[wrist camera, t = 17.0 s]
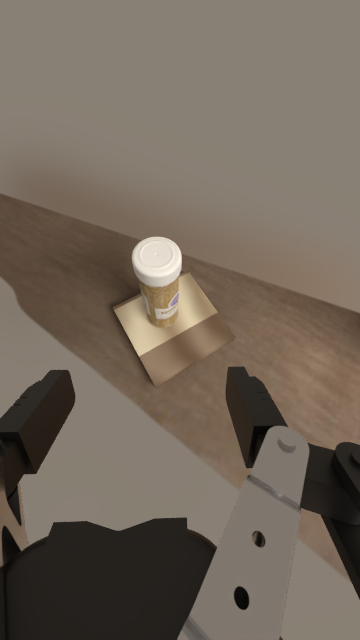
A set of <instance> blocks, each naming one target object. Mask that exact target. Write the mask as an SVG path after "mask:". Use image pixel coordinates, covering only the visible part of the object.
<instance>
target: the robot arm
mask: <svg viewBox="0 0 360 640" xmlns="http://www.w3.org/2000/svg"><path fill="white" fill-rule="evenodd" d="M226 402H227V406H228V409H229V412H230V416H231V419H232V422H233V426H234V429H235V432H236V436H237V439H238V442H239V446H240V449H241V452H242V456H243V459H244V462H245V466H246V468H253V469H252V471H251V473H250V475H249V476H247V478H246V480H245V482H244V484H243V487H242V489H241V491H240V494H239V496H238V499H237V501H236V504H235V506H234V509H233V511H232V513H231V516H230V518H229V520H228V523H227V526H226V528H225V530H224V533H223V535H222V537H221V540H220V542H219V545H218V547H216V546H215V545H214V544H213V543H212V542H211V541H210V540H208V539H207V538H205V537H204V536H203V535H201V534H199V533H197V532H195V531H192V530H189V529H187V518H161V519H152V520H150V521H147V522H144V523H141V524H138V525H136V526H133V527H130V528H127V529H124V530H121V531H115V530H112V529H109V528H106V527H103V526H100V525H97V524H93V523H90V522H87V521H81V522H54V523H53V525H52V528H51V531H50V533H49V535H48V536H47V537H45V538H43V539H40V540H38V541H36V542H35V543H33V544H31V545H30V544H29V541H28V537H27V533H26V527H25V519H24V511H23V503H22V493H21V487H20V483H19V481H20V479H21V478H22V476H23V475H24V474H36V473H37V471H38V469H39V467H40V466H41V464H42V462H43V460H44V459H45V457H46V455H47V453H48V451H49V449H50V448H51V446H52V444H53V442H54V440H55V439H56V437H57V435H58V433H59V431H60V430H61V428H62V426H63V424H64V422H65V421H66V419H67V417H68V415H69V413H70V412H71V410H72V408H73V406H74V403H75V392H74V388H73V384H72V380H71V376H70V373H69V371H68V370H51V371H49V372H48V373H47V375H46V376H45V377H44V378H43V379H42V380H41V381H38V382H36V383H35V384H33V385H32V386H30V387H29V388H28V389H27V390H26V391H25V392H24V393H23V394H22V395H21V396H20V399H18V400H17V401H16V402H15V403H14V404H13V406H11V407H10V409H9V410H8V411H7V412H6V413H5V414H4V415H3V416H2V417H1V418H0V640H283V639H282V638H281V636H280V633H281V627H282V621H283V615H284V609H285V603H286V597H287V591H288V585H289V580H290V574H291V568H292V562H293V557H294V551H295V545H296V539H297V533H298V528H299V522H300V515H301V508H303V509H306V510H309V511H312V512H315V513H318V514H321V517H322V519H323V521H324V523H325V525H326V527H327V530H328V532H329V534H330V536H331V538H332V540H333V543H334V545H335V547H336V549H337V551H338V554H339V556H340V558H341V560H342V562H343V564H344V567H345V569H346V571H347V573H348V575H349V577H350V580H351V582H352V584H353V586H354V588H355V590H356V593H357V595H358V597H359V599H360V445H358V444H355V443H351V442H343V443H340V444H338V445H337V447H336V449H335V450H331V449H327V448H323V447H319V446H315V445H312V444H309V443H307V442H306V440H305V439H304V438H303V437H302V436H301V435H300V434H299V433H298V432H296V431H295V430H293V429H291V428H289V427H288V426H287V424H286V422H285V420H284V419H283V417H282V415H281V413H280V412H279V410H278V408H277V406H276V405H275V403H274V401H273V400H272V398H271V396H270V394H269V393H268V391H267V389H266V387H265V385H264V384H263V383H262V382H261V381H260V380H259V379H258V378H256V377H249V375H248V373H247V371H246V369H245V367H228V372H227V382H226Z"/></svg>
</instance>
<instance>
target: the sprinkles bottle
mask: <svg viewBox="0 0 360 640" xmlns="http://www.w3.org/2000/svg"><path fill="white" fill-rule="evenodd" d="M132 263H133V268H134V272H135V274H136V276H137V278H138V279H139V284H140V290H141V293H142V297H143V301H144V304H145V308H146V311H147V316H148V319H149V321H150V323H151V324H153V325H154V326H155V327H158V328H166V327H169V326H171V325H172V324H174V323H175V322H176V320H177V318H178V302H179V274H180V271H181V264H182V256H181V251H180V249H179V247H178V246H177V245H176V244H175V243H174V242H173V241H171V240H170V239H167V238H164V237H150V238H147V239H144V240H142V241H141V242H139V243H138V244H137V245H136V247H135V248H134V250H133V253H132Z"/></svg>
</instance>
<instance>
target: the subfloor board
mask: <svg viewBox="0 0 360 640" xmlns="http://www.w3.org/2000/svg"><path fill="white" fill-rule="evenodd" d="M113 309H114V311H115V313H116V315H117V317H118V318H119V320H120V322H121V324H122V326H123V328H124V330H125V331H126V333H127V335H128V337H129V339H130V341H131V343H132V344H133V346H134V348H135V350H136V352H137V354H138V356H139V357H140V359H141V361H142V363H143V365H144V367H145V369H146V370H147V372H148V374H149V376H150V378H151V380H152V381H153V383H154V385H155V387H157V386H159V385H160V384H162V383H164V382H165V381H167V380H168V379H170V378H172V377H173V376H175V375H177V374H178V373H180V372H182V371H183V370H185V369H187V368H188V367H190V366H191V365H193V364H195V363H196V362H198V361H200V360H201V359H203V358H205V357H206V356H208V355H209V354H211V353H213V352H214V351H216V350H218V349H219V348H221V347H223V346H224V345H226V344H228V343H229V342H231V341H232V340H234V338H235V336H234V334H233V333H232V332H231V330H230V329H229V327H228V326H227V325H226V323H225V322H224V321H223V319H222V318H221V316H220V315H219V314H218V312H217V311H216V309H215V308H214V307H213V305H212V304H211V302H210V301H209V300H208V298H207V297H206V295H205V294H204V293H203V291H202V290H201V289H200V287H199V286H198V284H197V283H196V282H195V280H194V279H193V277H192V276H191V275H190V273H189V272H188V271H185V272H183V273H181V274H179V302H178V318H177V320H176V322H175V323H174V324H172V325H171V326H169V327H166V328H158V327H155V326H154V325H153V324H151V323H150V321H149V319H148V316H147V311H146V308H145V304H144V301H143V297H142V293H141V294H139V295H137V296H135V297H133V298H131V299H128V300H126V301H124V302H122V303H120V304H118V305H116V306H114V307H113Z"/></svg>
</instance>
